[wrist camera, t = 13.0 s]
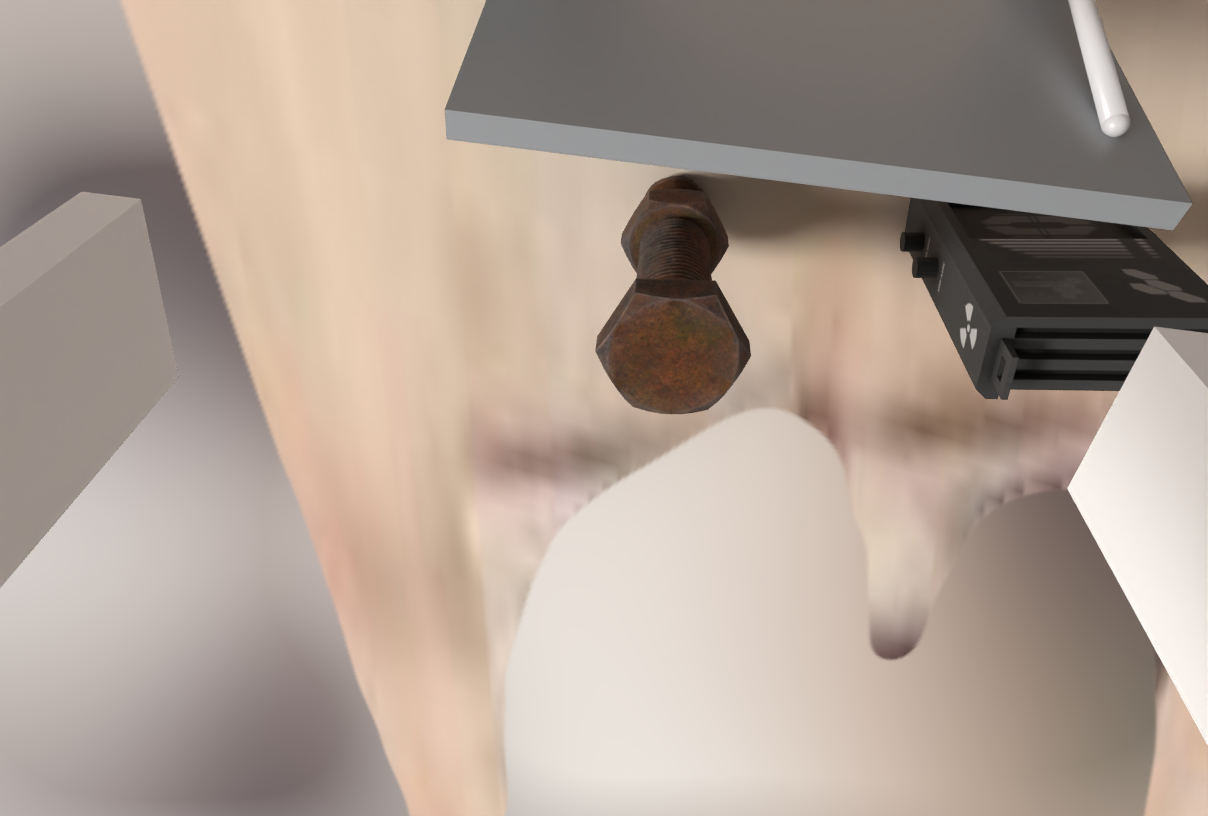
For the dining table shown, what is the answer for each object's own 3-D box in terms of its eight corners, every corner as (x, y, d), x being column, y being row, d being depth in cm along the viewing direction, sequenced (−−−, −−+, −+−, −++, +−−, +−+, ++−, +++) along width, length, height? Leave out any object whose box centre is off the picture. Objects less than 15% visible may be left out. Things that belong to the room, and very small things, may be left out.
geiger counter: (881, 264, 46) (953, 438, 34) (895, 180, 44) (978, 335, 31) (1090, 264, 45) (1240, 443, 33) (1116, 179, 43) (1290, 338, 31)
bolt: (663, 127, 43) (656, 265, 31) (749, 180, 44) (775, 333, 32) (604, 224, 46) (575, 384, 34) (685, 270, 47) (687, 441, 35)
